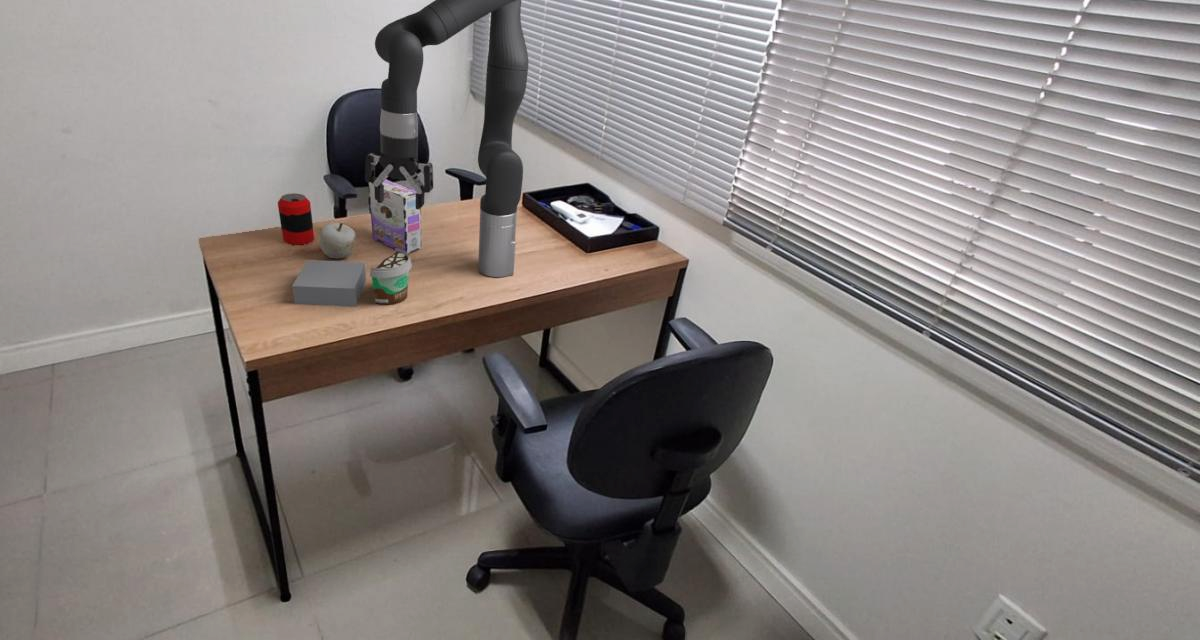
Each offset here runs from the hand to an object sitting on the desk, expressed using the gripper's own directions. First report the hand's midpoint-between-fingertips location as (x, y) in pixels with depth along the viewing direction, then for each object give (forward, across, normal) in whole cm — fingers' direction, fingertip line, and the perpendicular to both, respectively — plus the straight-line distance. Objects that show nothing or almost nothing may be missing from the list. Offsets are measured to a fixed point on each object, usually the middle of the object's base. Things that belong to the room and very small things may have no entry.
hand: (399, 205), depth 137 cm
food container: (+22, 0, +3) cm, 23 cm away
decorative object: (+23, +20, -13) cm, 33 cm away
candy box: (+22, +10, -26) cm, 35 cm away
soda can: (+23, +34, -20) cm, 45 cm away
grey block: (+23, +15, +4) cm, 28 cm away
